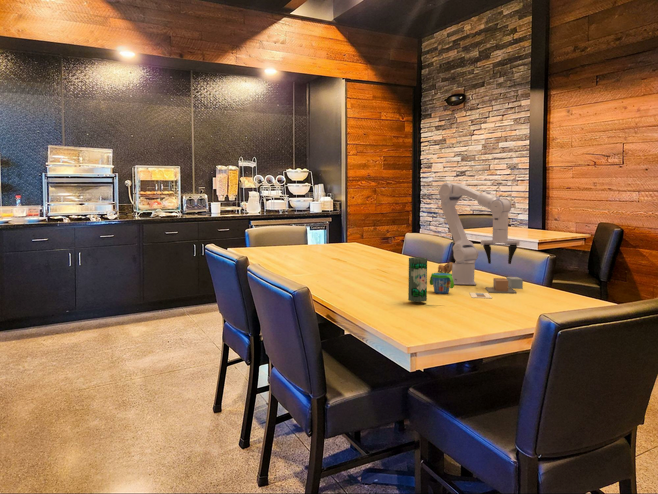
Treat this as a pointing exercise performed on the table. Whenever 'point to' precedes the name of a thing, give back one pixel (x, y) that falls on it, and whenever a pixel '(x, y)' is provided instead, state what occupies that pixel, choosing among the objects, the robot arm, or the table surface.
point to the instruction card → (480, 295)
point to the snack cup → (441, 282)
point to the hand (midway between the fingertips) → (499, 263)
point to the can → (417, 279)
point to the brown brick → (500, 284)
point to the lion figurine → (445, 268)
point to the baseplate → (492, 290)
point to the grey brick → (515, 282)
